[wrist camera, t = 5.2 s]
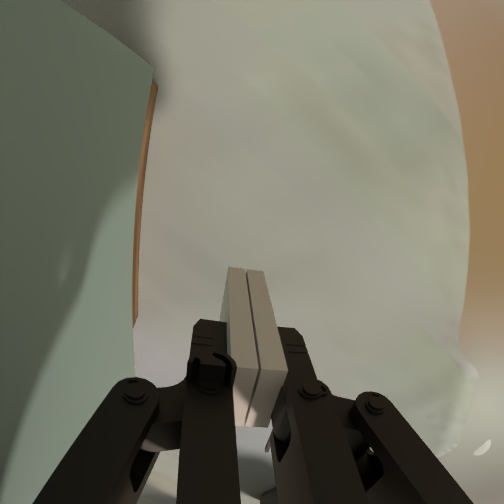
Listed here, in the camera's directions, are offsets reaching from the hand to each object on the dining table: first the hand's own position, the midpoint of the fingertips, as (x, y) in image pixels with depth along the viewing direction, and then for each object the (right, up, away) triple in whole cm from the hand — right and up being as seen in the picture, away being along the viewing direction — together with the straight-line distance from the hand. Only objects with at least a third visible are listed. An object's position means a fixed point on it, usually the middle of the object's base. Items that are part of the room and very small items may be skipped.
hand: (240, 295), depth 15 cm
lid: (-6, -1, -7) cm, 9 cm away
